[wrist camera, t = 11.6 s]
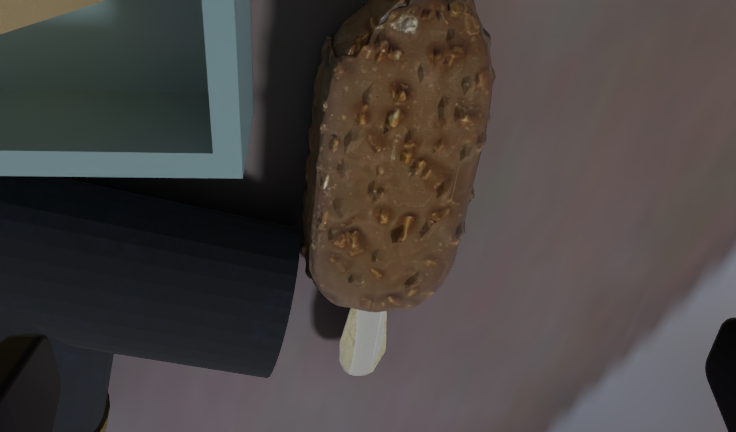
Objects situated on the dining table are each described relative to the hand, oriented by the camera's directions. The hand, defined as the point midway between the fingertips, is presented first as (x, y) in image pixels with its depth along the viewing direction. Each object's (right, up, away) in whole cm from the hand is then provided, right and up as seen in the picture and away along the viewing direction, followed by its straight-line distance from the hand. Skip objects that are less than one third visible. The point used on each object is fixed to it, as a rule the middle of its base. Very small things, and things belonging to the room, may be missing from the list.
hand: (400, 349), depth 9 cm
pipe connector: (-12, -1, +15) cm, 19 cm away
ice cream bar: (0, +3, +14) cm, 14 cm away
